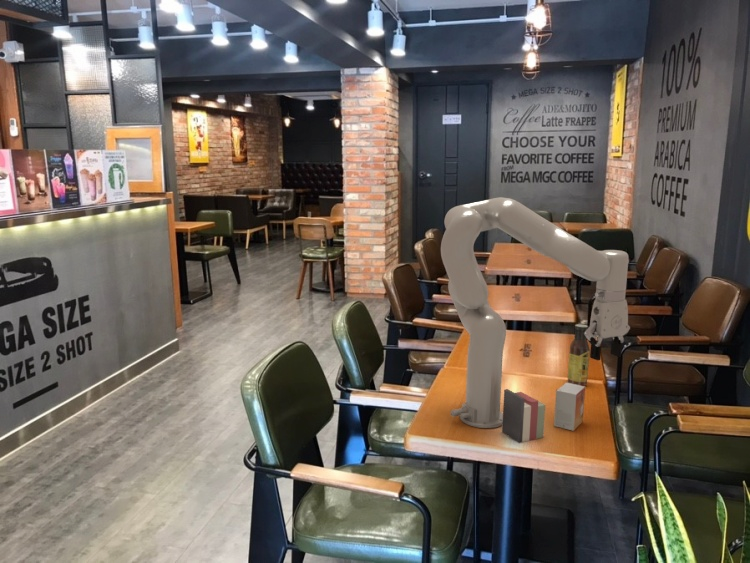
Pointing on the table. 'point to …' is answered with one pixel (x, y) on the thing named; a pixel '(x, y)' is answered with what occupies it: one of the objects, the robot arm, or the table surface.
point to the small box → (569, 406)
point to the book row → (522, 417)
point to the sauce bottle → (579, 357)
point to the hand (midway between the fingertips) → (605, 356)
